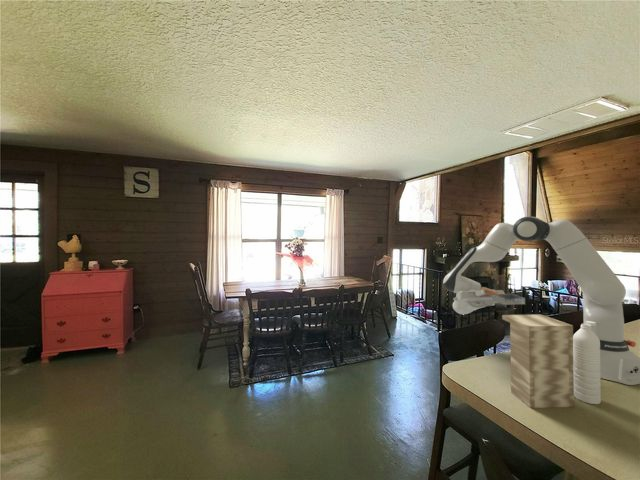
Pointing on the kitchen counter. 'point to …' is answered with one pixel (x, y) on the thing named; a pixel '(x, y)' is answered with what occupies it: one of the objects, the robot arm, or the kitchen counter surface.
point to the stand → (541, 360)
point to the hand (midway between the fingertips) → (489, 291)
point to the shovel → (504, 297)
